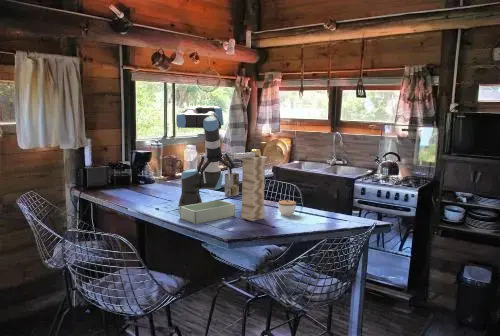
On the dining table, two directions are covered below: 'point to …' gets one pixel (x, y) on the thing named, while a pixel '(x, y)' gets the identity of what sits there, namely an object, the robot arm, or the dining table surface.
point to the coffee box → (232, 184)
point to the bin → (207, 211)
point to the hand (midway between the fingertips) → (217, 180)
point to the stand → (253, 187)
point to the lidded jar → (287, 207)
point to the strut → (248, 154)
